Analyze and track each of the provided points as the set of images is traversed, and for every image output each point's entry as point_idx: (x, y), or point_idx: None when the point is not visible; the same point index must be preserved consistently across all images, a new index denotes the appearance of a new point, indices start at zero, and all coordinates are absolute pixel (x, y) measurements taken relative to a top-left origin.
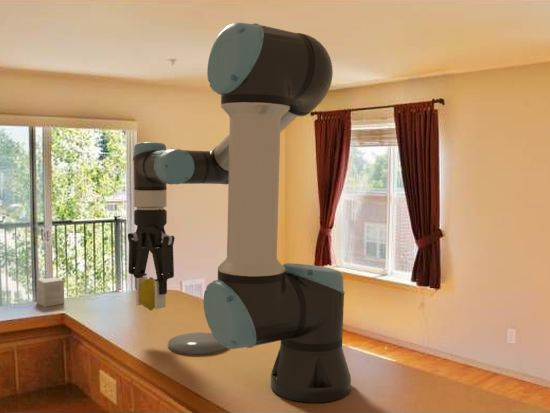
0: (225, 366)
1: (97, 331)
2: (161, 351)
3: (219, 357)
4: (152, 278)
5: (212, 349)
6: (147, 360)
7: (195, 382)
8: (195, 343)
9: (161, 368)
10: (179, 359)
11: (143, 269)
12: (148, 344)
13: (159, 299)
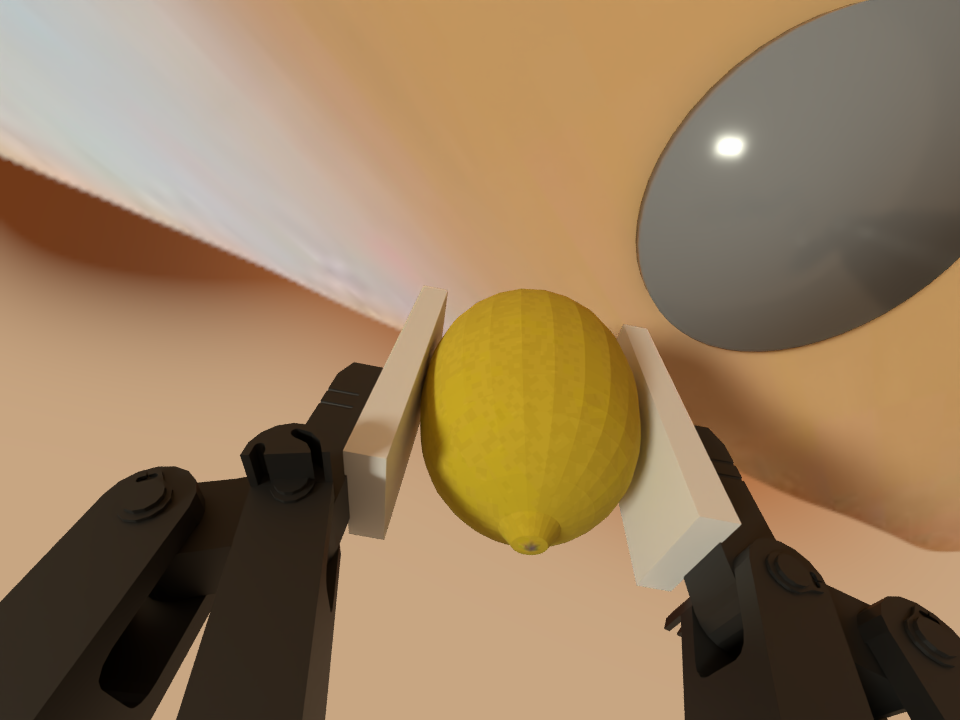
0: (953, 382)
1: (213, 244)
2: None
3: (929, 313)
4: (555, 541)
5: (907, 298)
6: None
7: (841, 491)
8: (799, 259)
9: None
10: (746, 384)
11: (325, 594)
12: None
13: None
